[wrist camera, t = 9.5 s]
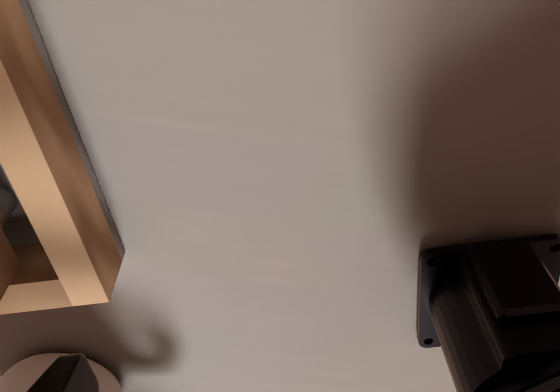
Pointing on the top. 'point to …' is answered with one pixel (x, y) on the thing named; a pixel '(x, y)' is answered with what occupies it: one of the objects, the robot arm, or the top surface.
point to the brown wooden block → (6, 263)
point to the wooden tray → (47, 182)
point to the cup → (28, 370)
